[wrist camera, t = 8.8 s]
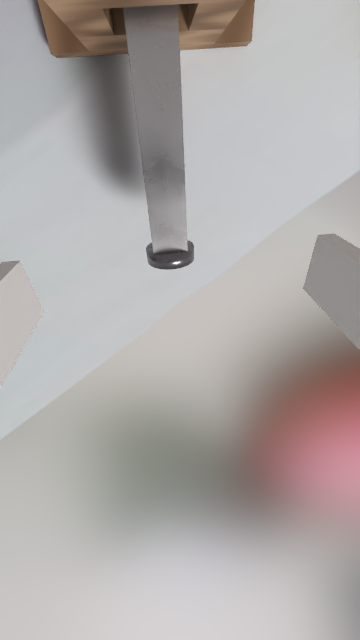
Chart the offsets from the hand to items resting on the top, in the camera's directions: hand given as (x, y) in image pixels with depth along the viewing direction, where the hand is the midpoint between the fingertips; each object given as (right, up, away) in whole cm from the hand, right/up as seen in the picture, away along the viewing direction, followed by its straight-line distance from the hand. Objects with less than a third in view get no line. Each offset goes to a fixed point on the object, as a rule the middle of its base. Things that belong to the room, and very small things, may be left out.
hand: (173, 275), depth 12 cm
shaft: (-1, +13, +8) cm, 16 cm away
